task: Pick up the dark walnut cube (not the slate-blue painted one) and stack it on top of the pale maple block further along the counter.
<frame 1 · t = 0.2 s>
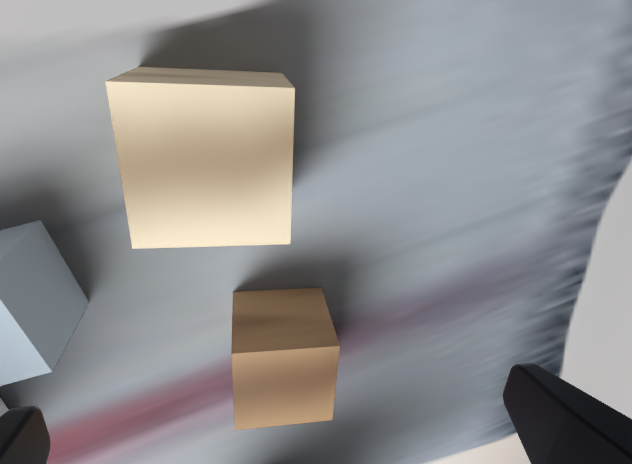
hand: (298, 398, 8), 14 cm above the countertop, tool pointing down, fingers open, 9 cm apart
walnut cube: (277, 324, 25), on the countertop
slate cube: (16, 275, 21), on the countertop
maple block: (216, 138, 19), on the countertop
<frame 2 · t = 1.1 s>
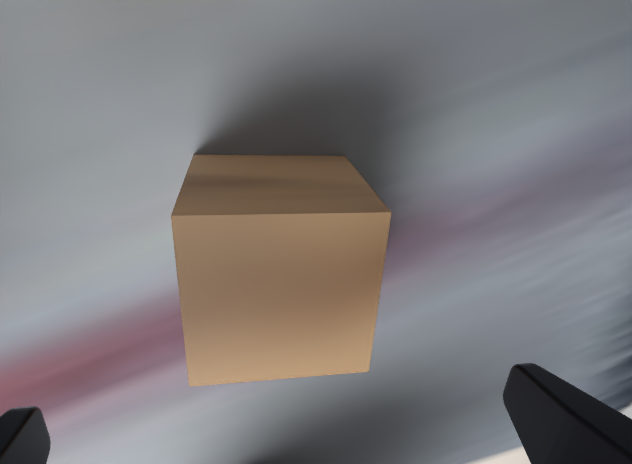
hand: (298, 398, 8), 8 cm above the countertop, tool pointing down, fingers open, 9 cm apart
walnut cube: (271, 222, 15), on the countertop
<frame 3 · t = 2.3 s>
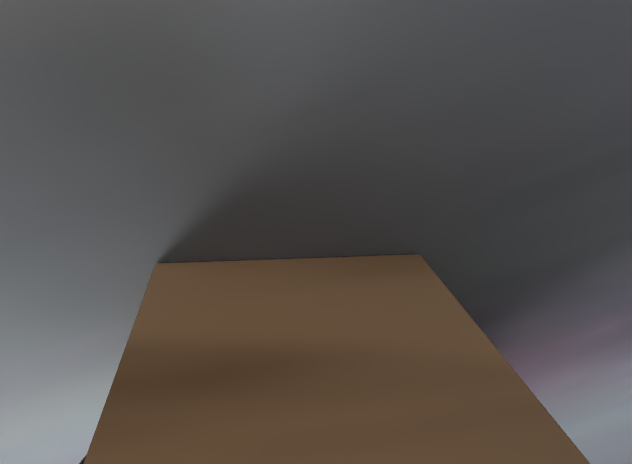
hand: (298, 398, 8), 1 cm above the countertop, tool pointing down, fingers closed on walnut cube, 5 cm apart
walnut cube: (291, 360, 9), on the countertop, touching gripper
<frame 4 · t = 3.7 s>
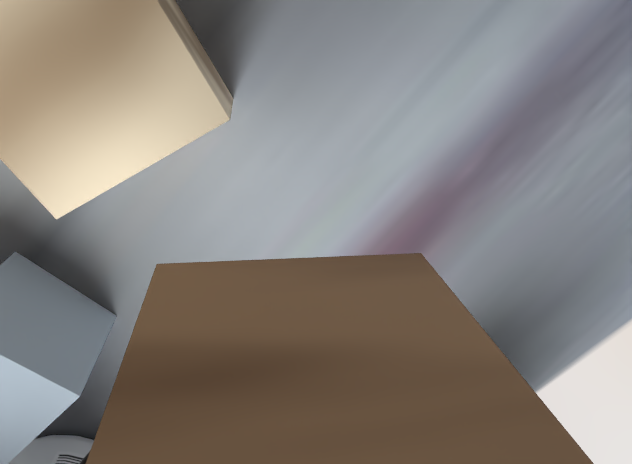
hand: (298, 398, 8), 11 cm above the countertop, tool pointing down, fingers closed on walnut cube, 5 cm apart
walnut cube: (293, 360, 9), point 10 cm above the countertop, touching gripper
slate cube: (35, 319, 19), on the countertop
maple block: (119, 64, 15), on the countertop
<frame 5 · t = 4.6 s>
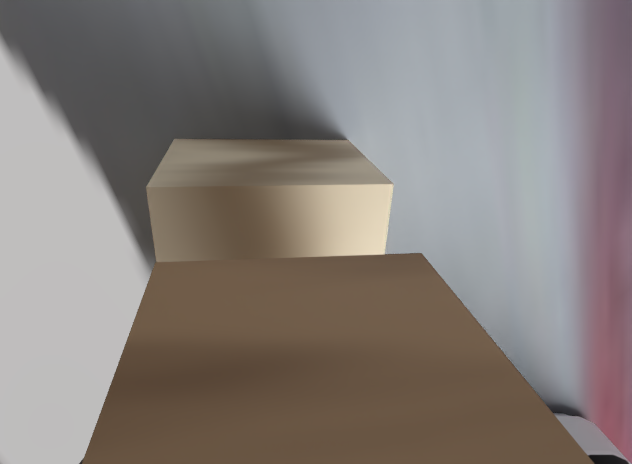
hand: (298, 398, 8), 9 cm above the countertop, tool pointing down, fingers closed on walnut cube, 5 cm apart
walnut cube: (292, 360, 9), point 8 cm above the countertop, touching gripper
maple block: (264, 217, 16), on the countertop
supplement can: (527, 451, 25), on the countertop
when the fingers open (7 cm above the countertop, at t = 5.2 s): walnut cube drops 1 cm, resting on maple block.
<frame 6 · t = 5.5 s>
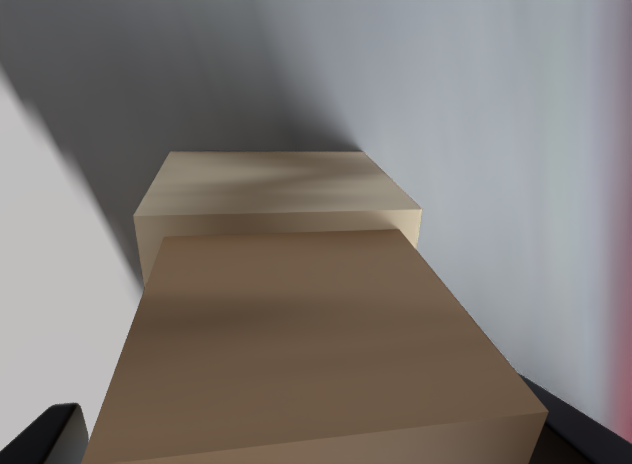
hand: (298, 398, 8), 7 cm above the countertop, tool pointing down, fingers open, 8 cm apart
walnut cube: (285, 327, 10), point 5 cm above the countertop, touching maple block
maple block: (270, 236, 14), on the countertop, touching walnut cube
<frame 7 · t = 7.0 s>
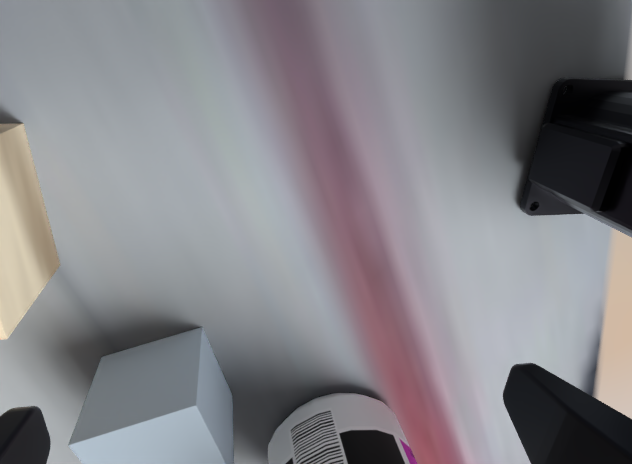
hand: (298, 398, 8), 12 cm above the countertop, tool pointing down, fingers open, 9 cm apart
slate cube: (171, 376, 22), on the countertop
supplement can: (331, 431, 26), on the countertop
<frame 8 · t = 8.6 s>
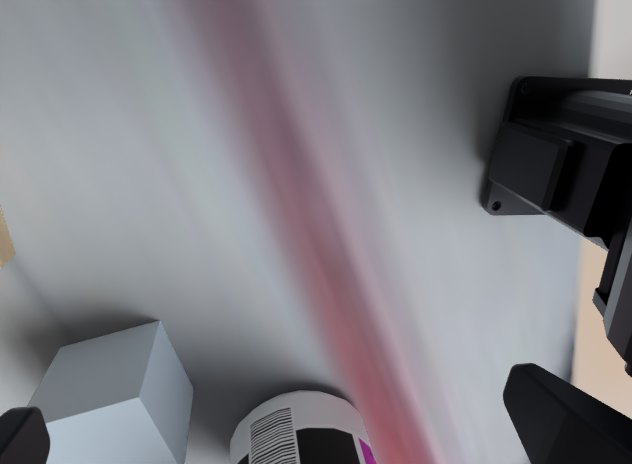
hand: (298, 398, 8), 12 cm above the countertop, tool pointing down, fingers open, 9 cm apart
slate cube: (131, 368, 22), on the countertop
supplement can: (297, 428, 26), on the countertop
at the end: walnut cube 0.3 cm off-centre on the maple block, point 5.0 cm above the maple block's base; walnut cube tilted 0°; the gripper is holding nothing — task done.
